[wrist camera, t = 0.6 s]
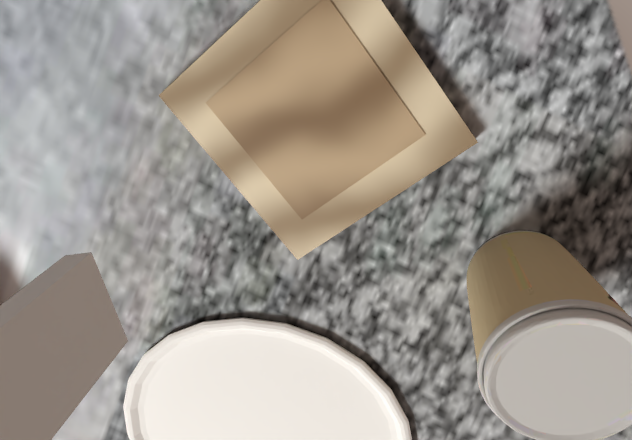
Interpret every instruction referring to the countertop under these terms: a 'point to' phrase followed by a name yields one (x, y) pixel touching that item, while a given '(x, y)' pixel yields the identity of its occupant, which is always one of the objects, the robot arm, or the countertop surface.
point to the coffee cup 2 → (548, 341)
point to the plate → (257, 387)
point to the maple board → (317, 114)
